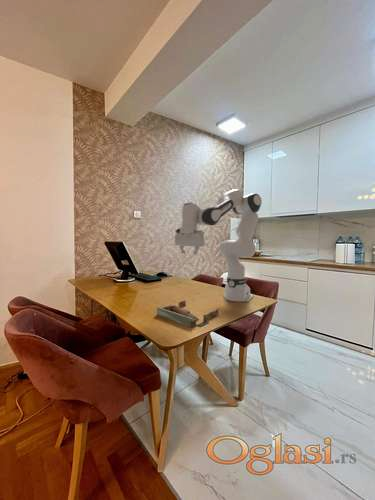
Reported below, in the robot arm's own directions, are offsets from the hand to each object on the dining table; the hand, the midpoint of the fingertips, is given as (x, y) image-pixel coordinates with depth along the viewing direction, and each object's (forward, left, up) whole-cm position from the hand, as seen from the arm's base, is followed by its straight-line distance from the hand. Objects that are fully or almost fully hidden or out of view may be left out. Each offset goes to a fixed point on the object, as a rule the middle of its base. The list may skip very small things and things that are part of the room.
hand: (189, 253), depth 130 cm
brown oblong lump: (+15, +9, -32) cm, 36 cm away
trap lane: (+12, +9, -31) cm, 35 cm away
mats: (+13, +9, -31) cm, 35 cm away
